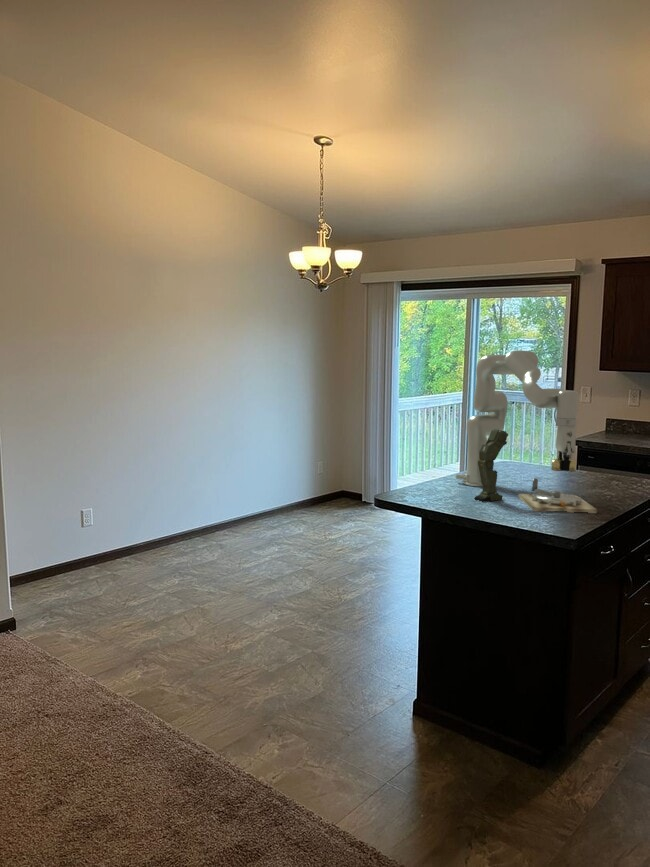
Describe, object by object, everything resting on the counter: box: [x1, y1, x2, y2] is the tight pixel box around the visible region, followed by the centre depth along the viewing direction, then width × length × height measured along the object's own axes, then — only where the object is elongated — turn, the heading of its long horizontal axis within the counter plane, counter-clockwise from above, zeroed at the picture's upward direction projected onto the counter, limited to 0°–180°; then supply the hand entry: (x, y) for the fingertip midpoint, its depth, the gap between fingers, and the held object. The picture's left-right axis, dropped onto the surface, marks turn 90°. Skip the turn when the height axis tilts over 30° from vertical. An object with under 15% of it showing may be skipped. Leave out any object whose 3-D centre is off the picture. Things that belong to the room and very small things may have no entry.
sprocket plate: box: [518, 493, 598, 514], centre depth 271 cm, size 24×24×2 cm
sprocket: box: [531, 477, 582, 506], centre depth 271 cm, size 19×21×6 cm
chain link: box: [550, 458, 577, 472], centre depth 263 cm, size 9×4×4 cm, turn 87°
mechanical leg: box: [473, 429, 509, 503], centre depth 277 cm, size 14×7×30 cm, turn 118°
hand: (563, 469), depth 264 cm, fingers closed on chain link, 3 cm apart
